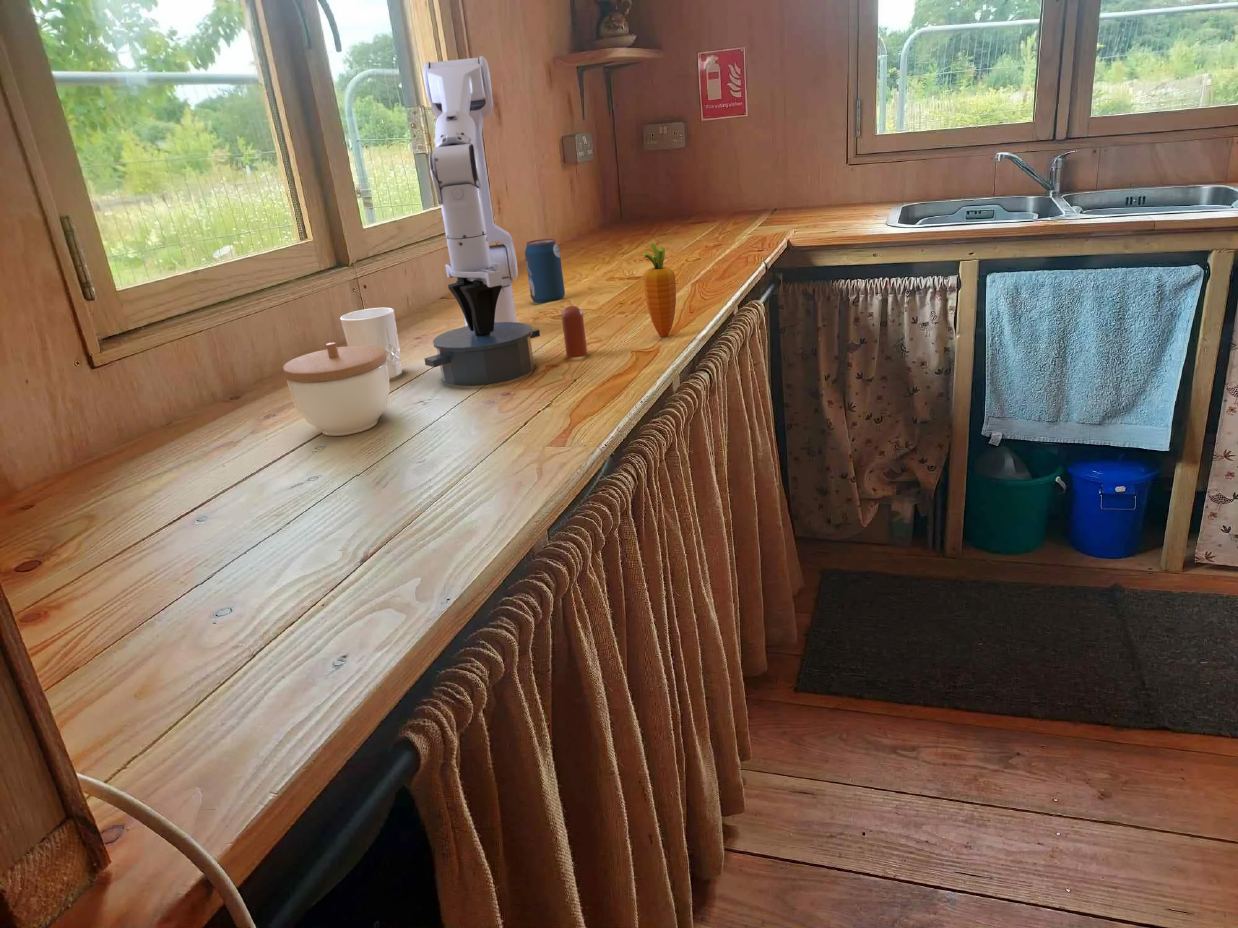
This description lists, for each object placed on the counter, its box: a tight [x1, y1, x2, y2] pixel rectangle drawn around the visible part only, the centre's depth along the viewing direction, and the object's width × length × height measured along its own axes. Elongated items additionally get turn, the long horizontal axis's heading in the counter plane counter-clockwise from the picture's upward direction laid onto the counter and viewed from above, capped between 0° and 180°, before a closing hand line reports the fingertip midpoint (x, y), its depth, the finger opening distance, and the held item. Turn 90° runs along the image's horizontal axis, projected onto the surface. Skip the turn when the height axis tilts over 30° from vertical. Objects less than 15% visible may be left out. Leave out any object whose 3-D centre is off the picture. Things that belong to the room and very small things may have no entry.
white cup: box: [339, 307, 403, 379], centre depth 132 cm, size 8×8×10 cm
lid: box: [432, 311, 533, 352], centre depth 127 cm, size 14×14×5 cm
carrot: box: [642, 242, 677, 339], centre depth 136 cm, size 5×5×15 cm
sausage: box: [561, 305, 588, 358], centre depth 132 cm, size 3×3×8 cm
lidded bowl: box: [282, 341, 390, 437], centre depth 111 cm, size 13×13×11 cm
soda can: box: [524, 238, 566, 306], centre depth 174 cm, size 7×7×12 cm
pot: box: [424, 328, 541, 387], centre depth 129 cm, size 13×19×6 cm
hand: (482, 331), depth 127 cm, fingers closed on lid, 2 cm apart
